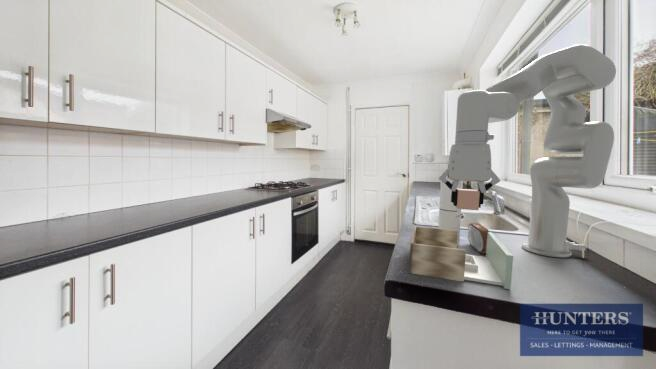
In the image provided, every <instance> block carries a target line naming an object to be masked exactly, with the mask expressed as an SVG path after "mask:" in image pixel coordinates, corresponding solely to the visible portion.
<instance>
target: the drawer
mask: <svg viewBox="0 0 656 369" xmlns="http://www.w3.org/2000/svg"><path fill="white" fill-rule="evenodd" d="M513 263H514V255H513V254H512V253H511V252H510V251H509V249H507V247H506V246H505V245H504V244H503V243H502V242H501V241H500V240H499V239H498V237H497V236H496V235H495V234H494V232H491V231H489V232H487V247H486V254H485V256H484V255H476V254H475V255H474V254H467V253H466V256H465V272H464V281H471V282H475V283H484V284H489V285H495V286H502V287H503V289H507V290H511V289H512V278H513V276H512V275H513Z"/></svg>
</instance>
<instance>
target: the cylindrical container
mask: <svg viewBox="0 0 656 369" xmlns="http://www.w3.org/2000/svg"><path fill="white" fill-rule="evenodd" d="M446 180H448V181H449V182H450V183H451V184H452V183H453V180H451V179H449V178H448V176H447V177H446ZM463 184H464V181H459V184H458V186H457V189H464V185H463ZM451 193H452V190H451V189H450V188H449V187H448V186H447V185H446V184H444V183H443V182H442V181H441V180H440V190H439V208H438V227H437V229H446V230H456V231H458V234H457V247H459V246H460V240H461V239H460V236H461V219H462V209H457V208H456V206H454V205H453V202H451Z"/></svg>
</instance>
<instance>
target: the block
mask: <svg viewBox="0 0 656 369" xmlns="http://www.w3.org/2000/svg"><path fill="white" fill-rule="evenodd" d="M457 192H458V197H457V206H456V208H457V209H461V210H468V211H469V210H471V211H479V196H480V191H478V189H472V188H462V189H457Z"/></svg>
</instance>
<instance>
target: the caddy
mask: <svg viewBox="0 0 656 369" xmlns="http://www.w3.org/2000/svg"><path fill="white" fill-rule="evenodd" d="M457 234H458V231H456V230H446V229H438V228H433V227H425V226H424V227H421V226H414V228H413V232H412V236H411V241H410V250H409V252H410V253H409V274H414V275H419V276H426V277H433V278H439V279H445V280H451V281H456V282H465V280H464V272H465V256H466V254H467V251H466V250H467V249H462V248H458V246H457Z"/></svg>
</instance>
